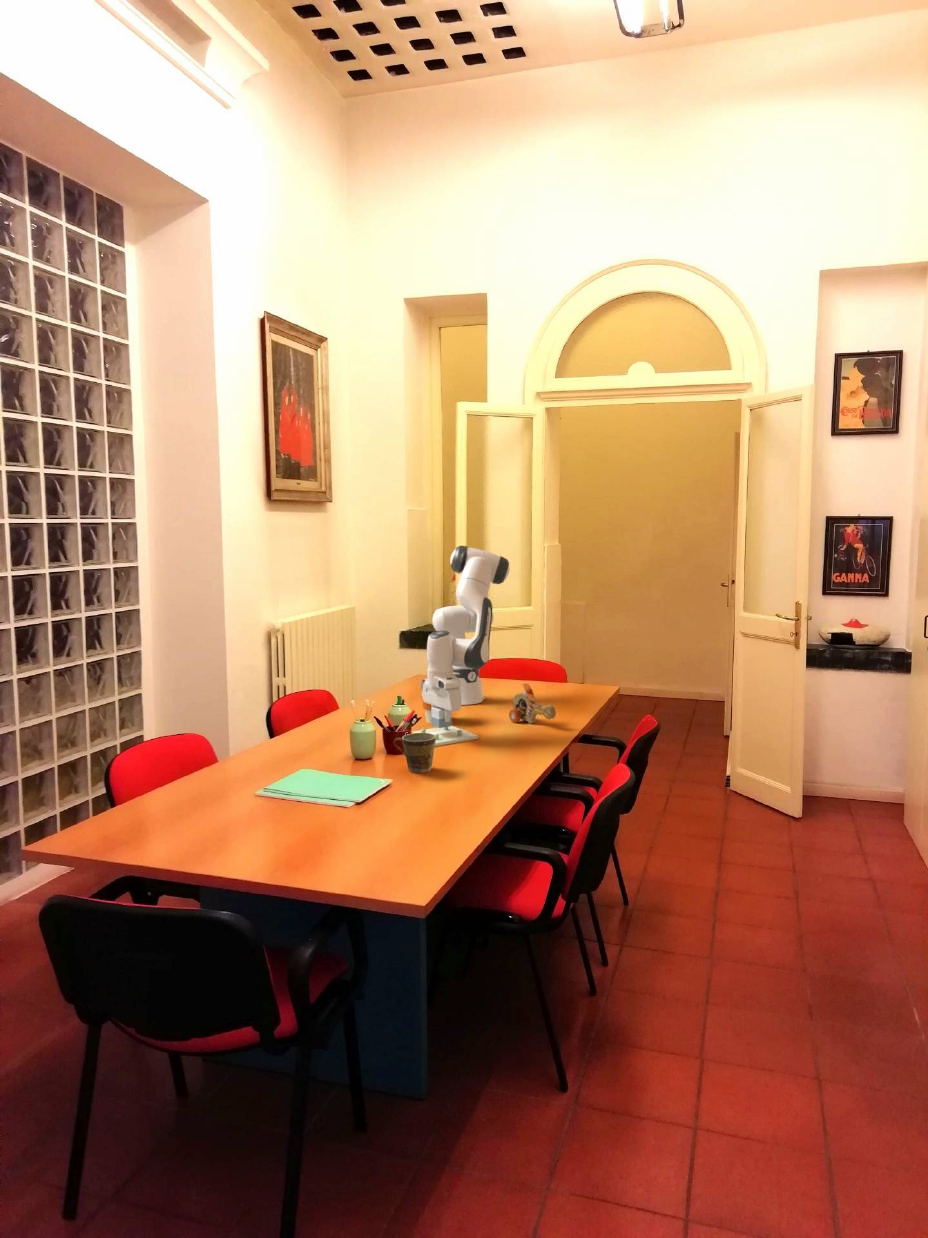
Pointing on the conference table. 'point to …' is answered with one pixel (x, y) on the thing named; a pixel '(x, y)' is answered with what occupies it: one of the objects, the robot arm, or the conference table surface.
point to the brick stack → (439, 718)
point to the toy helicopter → (529, 707)
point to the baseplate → (448, 735)
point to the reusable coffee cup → (426, 706)
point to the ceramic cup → (418, 751)
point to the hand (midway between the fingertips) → (441, 719)
